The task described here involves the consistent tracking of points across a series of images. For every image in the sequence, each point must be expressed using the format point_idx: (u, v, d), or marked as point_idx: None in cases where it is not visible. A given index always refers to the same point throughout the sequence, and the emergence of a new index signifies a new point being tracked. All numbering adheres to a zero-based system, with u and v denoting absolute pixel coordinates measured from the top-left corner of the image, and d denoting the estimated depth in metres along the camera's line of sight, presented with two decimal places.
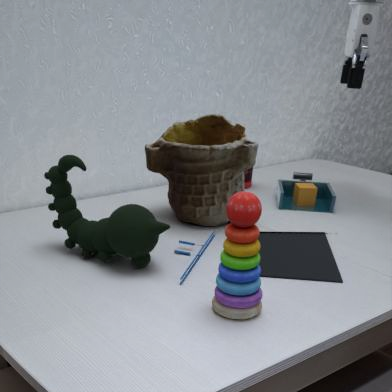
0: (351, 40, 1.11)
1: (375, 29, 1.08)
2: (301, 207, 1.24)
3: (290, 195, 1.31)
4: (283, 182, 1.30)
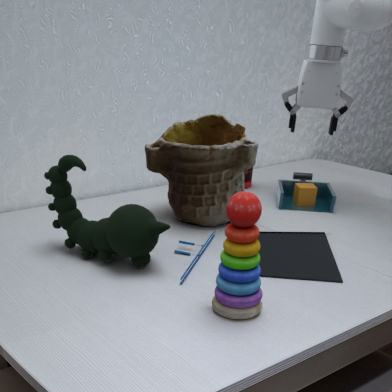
0: (332, 94, 1.20)
1: None
2: (301, 207, 1.24)
3: (290, 195, 1.31)
4: (283, 182, 1.30)
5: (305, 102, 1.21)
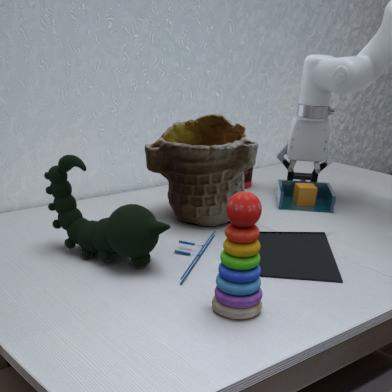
0: (320, 149, 1.26)
1: None
2: (301, 207, 1.24)
3: (290, 195, 1.31)
4: (283, 182, 1.30)
5: (295, 156, 1.28)
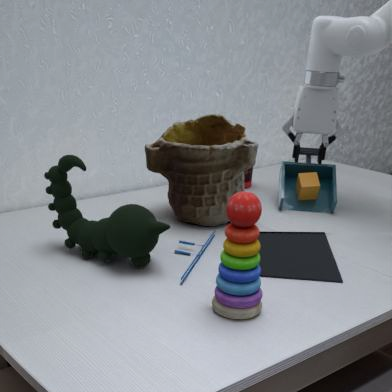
0: (329, 120, 1.18)
1: None
2: (302, 203, 1.23)
3: (294, 175, 1.27)
4: (287, 165, 1.24)
5: (301, 128, 1.19)
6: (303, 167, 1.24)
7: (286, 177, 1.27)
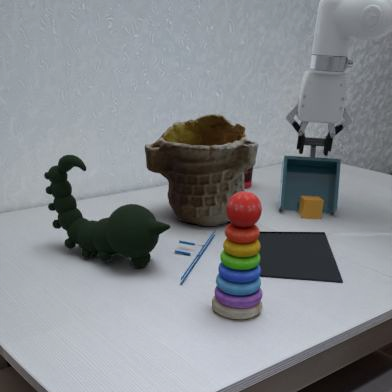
0: (336, 108, 1.10)
1: None
2: None
3: (297, 165, 1.22)
4: (290, 159, 1.19)
5: (307, 116, 1.12)
6: (306, 161, 1.19)
7: (289, 167, 1.22)
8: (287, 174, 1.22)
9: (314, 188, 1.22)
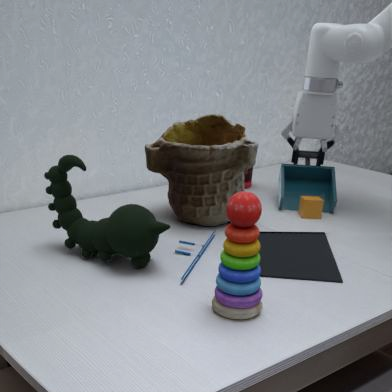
0: (328, 125, 1.19)
1: None
2: None
3: (293, 178, 1.27)
4: (286, 167, 1.25)
5: (300, 133, 1.21)
6: (302, 169, 1.25)
7: (285, 180, 1.28)
8: (284, 184, 1.27)
9: (311, 194, 1.25)
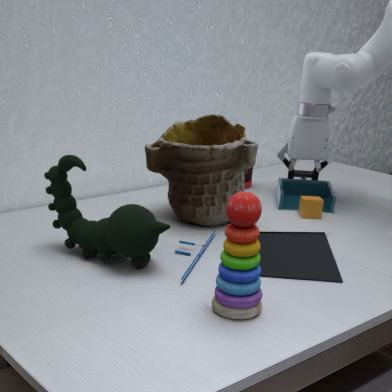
0: (321, 147, 1.26)
1: None
2: None
3: (290, 193, 1.31)
4: (283, 180, 1.29)
5: (295, 154, 1.27)
6: (299, 183, 1.29)
7: None
8: (282, 197, 1.30)
9: None
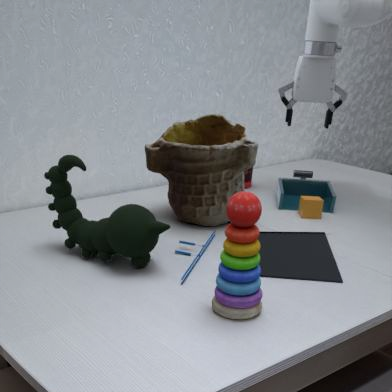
0: (327, 88, 1.24)
1: None
2: None
3: (290, 193, 1.31)
4: (283, 180, 1.29)
5: (301, 96, 1.25)
6: (299, 183, 1.29)
7: None
8: (282, 197, 1.30)
9: None
